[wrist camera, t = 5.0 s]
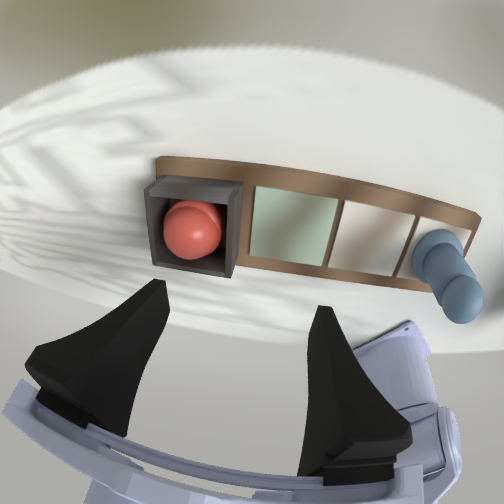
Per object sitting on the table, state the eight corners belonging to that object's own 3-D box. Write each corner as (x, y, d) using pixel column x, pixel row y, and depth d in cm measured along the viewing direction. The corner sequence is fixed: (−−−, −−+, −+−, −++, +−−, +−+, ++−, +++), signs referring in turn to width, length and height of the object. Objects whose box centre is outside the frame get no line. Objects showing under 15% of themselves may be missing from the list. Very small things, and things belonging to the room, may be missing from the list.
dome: (228, 195, 18) (213, 221, 15) (226, 245, 20) (213, 277, 17) (172, 189, 18) (148, 213, 15) (175, 238, 21) (155, 267, 17)
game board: (475, 212, 17) (500, 237, 13) (441, 287, 21) (456, 317, 18) (161, 155, 19) (134, 172, 15) (167, 246, 23) (147, 275, 20)
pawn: (422, 285, 20) (449, 349, 14) (402, 250, 19) (433, 317, 13) (463, 257, 18) (500, 315, 12) (448, 217, 16) (494, 275, 11)
